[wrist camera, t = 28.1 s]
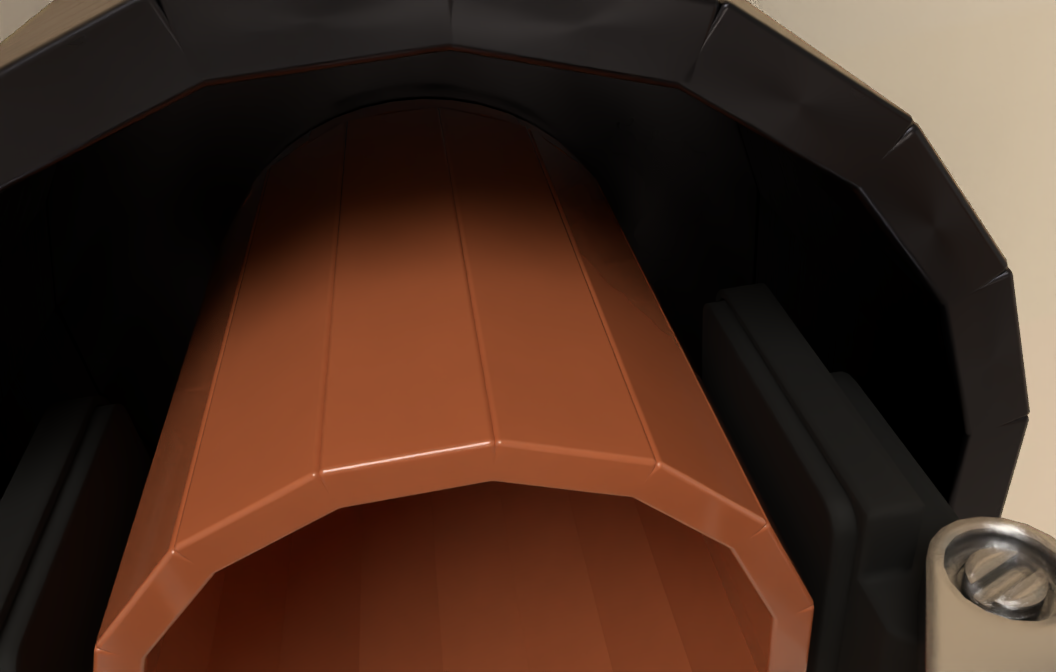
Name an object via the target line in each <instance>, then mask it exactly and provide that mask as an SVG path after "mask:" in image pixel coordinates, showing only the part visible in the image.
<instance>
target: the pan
mask: <svg viewBox="0 0 1056 672" xmlns="http://www.w3.org/2000/svg"><path fill="white" fill-rule="evenodd" d="M415 99H437V100H454V101H460V102H466V103H472V104H478V105H482V106H486V107H489V108H492V109H496V110H499V111H502V112H505V113H509V114H511V115H513V116H515V117H517V118H519V119H522V120H524V121H526V122H528V123H530V124H533V125H535V126H536V127H538V128H539V129H541V130H542V131H544V132H546V133H547V134H549V135H550V136H552V137H553V138H555V139H557V140H558V141H559V142H560V143H561V144H563V145H564V146H565V147H566V148H567V149H568V150H570V151H571V152H572V153H573V154H574V155H575V156H577V157H578V159H579V160H580V161H581V162H582V163H583V164H584V165H585V166H586V168H587V169H588V170H589V171H590V172H591V173H592V174H593V175H594V177H595V178H596V179H597V180H598V182H599V184H600V185H601V187H602V189H603V191H604V192H605V194H606V195H607V197H608V199H609V201H610V203H611V205H612V207H613V209H614V211H615V213H616V215H617V216H618V218H619V220H620V222H621V224H622V226H623V227H624V229H625V231H626V233H627V235H628V236H629V238H630V240H631V242H632V244H633V246H634V248H635V250H636V252H637V254H638V256H639V258H640V260H641V262H642V264H643V266H644V268H645V270H646V272H647V274H648V276H649V278H650V279H651V281H652V283H653V285H654V287H655V289H656V291H657V293H658V295H659V297H660V299H661V301H662V303H663V305H664V307H665V309H666V311H667V313H668V315H669V317H670V319H671V321H672V323H673V325H674V327H675V329H676V331H677V333H678V334H679V336H680V338H681V340H682V342H683V344H684V346H685V348H686V350H687V352H688V354H689V356H690V358H691V360H692V362H693V364H694V366H695V368H696V370H697V372H698V374H699V376H700V378H701V380H702V330H703V308H704V305H705V304H706V303H711V302H716V296H717V292H718V291H719V290H721V289H727V288H733V287H739V286H744V285H750V284H756V283H764V284H765V285H766V286H767V287H768V288H769V289H770V291H771V292H772V294H773V295H774V296H775V298H776V299H777V301H778V302H779V303H780V305H781V306H782V307H783V309H784V310H785V312H786V313H787V314H788V316H789V317H790V319H791V320H792V321H793V323H794V324H795V326H796V327H797V328H798V330H799V331H800V332H801V334H802V335H803V337H804V338H805V339H806V341H807V342H808V344H809V345H810V346H811V348H812V349H813V350H814V352H815V353H816V355H817V356H818V357H819V359H820V360H821V362H822V363H823V364H824V366H825V367H826V369H827V370H828V371H829V373H834V372H840V371H843V372H845V373H848V374H849V375H850V376H851V377H852V378H853V379H854V380H855V381H856V382H857V383H858V385H859V386H860V387H861V389H862V390H863V391H864V393H865V394H866V395H867V396H868V398H869V399H870V400H871V402H872V403H873V404H874V406H875V407H876V408H877V410H878V411H879V412H880V414H881V415H882V416H883V418H884V419H885V420H886V422H887V423H888V424H889V426H890V427H891V428H892V430H893V431H894V432H895V434H896V435H897V436H898V438H899V439H900V440H901V442H902V443H903V444H904V446H905V447H906V448H907V450H908V451H909V452H910V454H911V455H912V456H913V458H914V459H915V460H916V462H917V463H918V464H919V466H920V467H921V468H922V470H923V471H924V472H925V474H926V475H927V476H928V478H929V479H930V480H931V481H932V483H933V484H934V485H935V487H936V488H937V489H938V491H939V492H940V493H941V495H942V496H943V497H944V499H945V500H946V501H947V503H948V504H949V505H950V507H951V508H952V509H953V511H954V512H955V513H956V515H957V516H958V517H959V519H960V520H961V519H967V518H972V517H978V516H980V517H996V518H1001V514H1002V511H1003V507H1004V504H1005V501H1006V497H1007V494H1008V490H1009V487H1010V483H1011V480H1012V476H1013V473H1014V469H1015V466H1016V463H1017V459H1018V456H1019V452H1020V449H1021V445H1022V442H1023V438H1024V435H1025V431H1026V428H1027V424H1028V421H1029V419H1028V416H1027V415H1028V414H1029V412H1030V410H1029V402H1028V394H1027V386H1026V378H1025V370H1024V362H1023V354H1022V346H1021V338H1020V330H1019V322H1018V314H1017V306H1016V298H1015V290H1014V282H1013V275H1012V271H1011V270H1010V269H1009V268H1008V266H1007V261H1006V258H1005V257H1004V255H1003V254H1002V252H1001V251H1000V249H999V248H998V246H997V245H996V243H995V242H994V240H993V239H992V237H991V235H990V234H989V232H988V231H987V229H986V228H985V226H984V225H983V223H982V222H981V220H980V219H979V217H978V216H977V214H976V212H975V211H974V209H973V208H972V206H971V205H970V203H969V202H968V200H967V199H966V197H965V196H964V194H963V193H962V191H961V189H960V188H959V186H958V185H957V183H956V182H955V180H954V179H953V177H952V176H951V174H950V173H949V171H948V170H947V168H946V166H945V165H944V163H943V162H942V160H941V159H940V157H939V156H938V154H937V153H936V151H935V150H934V148H933V147H932V145H931V143H930V142H929V140H928V139H927V137H926V136H925V134H924V133H923V131H922V130H921V128H920V127H919V125H918V124H917V123H915V122H914V121H913V119H912V117H911V115H909V114H908V113H906V112H905V111H904V110H902V109H901V108H899V107H898V106H896V105H895V104H894V103H892V102H891V101H889V100H888V99H886V98H885V97H884V96H882V95H881V94H879V93H878V92H876V91H875V90H874V89H872V88H871V87H869V86H868V85H866V84H865V83H864V82H862V81H861V80H859V79H858V78H856V77H855V76H854V75H852V74H851V73H849V72H848V71H846V70H845V69H844V68H842V67H841V66H839V65H838V64H836V63H835V62H834V61H832V60H831V59H829V58H828V57H826V56H825V55H823V54H822V53H821V52H819V51H818V50H816V49H815V48H813V47H812V46H811V45H809V44H808V43H806V42H805V41H803V40H802V39H801V38H799V37H798V36H796V35H795V34H793V33H792V32H791V31H789V30H788V29H786V28H785V27H783V26H782V25H781V24H779V23H778V22H776V21H775V20H773V19H772V18H771V17H769V16H768V15H766V14H765V13H763V12H762V11H761V10H759V9H758V8H756V7H755V6H753V5H752V4H751V3H749V2H748V1H746V0H54V1H53V2H51V3H50V4H49V5H48V6H46V7H45V8H44V9H43V10H41V11H40V12H39V13H38V14H36V15H35V16H34V17H33V18H31V19H30V20H29V21H28V22H26V23H25V24H24V25H23V26H21V27H20V28H19V29H18V30H16V31H15V32H14V33H13V34H11V35H10V36H9V37H8V38H6V39H5V40H4V41H3V42H1V43H0V501H1V499H2V497H3V495H4V493H5V491H6V489H7V487H8V485H9V483H10V481H11V479H12V477H13V475H14V473H15V471H16V469H17V467H18V465H19V462H20V460H21V458H22V456H23V454H24V452H25V450H26V448H27V446H28V444H29V442H30V440H31V438H32V436H33V434H34V432H35V430H36V428H37V426H38V424H39V422H40V420H41V418H42V416H43V414H44V412H45V410H46V409H47V407H48V406H49V405H50V404H52V403H54V402H59V401H65V400H71V399H76V398H82V397H88V396H94V395H102V396H104V397H105V398H106V399H107V400H108V401H109V402H110V404H117V403H118V404H122V405H123V406H124V407H125V408H126V410H127V412H128V414H129V416H130V418H131V420H132V422H133V424H134V426H135V428H136V430H137V432H138V435H139V437H140V439H141V441H142V443H143V445H144V447H145V449H146V451H147V453H148V455H149V458H150V460H151V462H152V461H153V458H154V454H155V451H156V448H157V445H158V442H159V439H160V435H161V432H162V429H163V426H164V423H165V419H166V416H167V413H168V410H169V407H170V403H171V400H172V397H173V394H174V391H175V387H176V384H177V381H178V378H179V375H180V371H181V368H182V365H183V362H184V359H185V355H186V352H187V349H188V346H189V343H190V339H191V336H192V333H193V330H194V327H195V323H196V320H197V317H198V314H199V311H200V307H201V304H202V301H203V298H204V295H205V291H206V288H207V285H208V282H209V279H210V275H211V272H212V269H213V266H214V263H215V259H216V256H217V253H218V250H219V247H220V243H221V240H222V238H223V235H224V233H225V231H226V230H227V228H228V227H229V225H230V224H231V222H232V221H233V218H234V215H235V213H236V210H237V208H238V207H239V205H240V203H241V201H242V200H243V198H244V196H245V194H246V192H247V191H248V189H249V187H250V186H251V185H252V184H253V182H254V181H255V180H256V179H257V177H258V176H259V175H260V173H261V172H262V171H263V170H264V168H265V167H266V166H267V165H268V164H269V163H270V162H271V161H272V160H273V159H275V158H276V157H277V156H278V155H279V154H280V153H281V152H282V151H283V150H284V149H285V148H286V147H288V146H289V145H291V144H292V143H293V142H295V141H296V140H298V139H299V138H300V137H302V136H303V135H305V134H306V133H307V132H309V131H311V130H313V129H315V128H317V127H319V126H320V125H322V124H324V123H326V122H328V121H330V120H332V119H334V118H336V117H339V116H342V115H345V114H347V113H350V112H353V111H356V110H358V109H361V108H365V107H369V106H374V105H379V104H383V103H388V102H393V101H404V100H415Z"/></svg>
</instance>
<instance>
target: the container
mask: <svg viewBox="0 0 1056 672" xmlns="http://www.w3.org/2000/svg"><path fill="white" fill-rule="evenodd" d="M813 617H814V604H813V598H812V596H811V594H810V592H809V590H808V588H807V586H806V584H805V582H804V580H803V578H802V576H801V574H800V572H799V570H798V568H797V566H796V564H795V562H794V560H793V558H792V556H791V555H790V553H789V551H788V549H787V547H786V545H785V543H784V541H783V539H782V537H781V535H780V533H779V531H778V529H777V527H776V525H775V523H774V521H773V519H772V517H771V515H770V513H769V511H768V509H767V507H766V505H765V503H764V501H763V500H762V498H761V496H760V494H759V492H758V490H757V488H756V486H755V484H754V482H753V480H752V478H751V476H750V474H749V472H748V470H747V468H746V466H745V464H744V462H743V460H742V458H741V456H740V454H739V452H738V450H737V448H736V446H735V444H734V443H733V441H732V439H731V437H730V435H729V433H728V431H727V429H726V427H725V425H724V423H723V421H722V419H721V417H720V415H719V413H718V411H717V409H716V407H715V405H714V403H713V401H712V399H711V397H710V395H709V393H708V391H707V389H706V388H705V386H704V384H703V382H702V380H701V378H700V376H699V374H698V372H697V370H696V368H695V366H694V364H693V362H692V360H691V358H690V356H689V354H688V352H687V350H686V348H685V346H684V344H683V342H682V340H681V338H680V336H679V334H678V333H677V331H676V329H675V327H674V325H673V323H672V321H671V319H670V317H669V315H668V313H667V311H666V309H665V307H664V305H663V303H662V301H661V299H660V297H659V295H658V293H657V291H656V289H655V287H654V285H653V283H652V281H651V279H650V278H649V276H648V274H647V272H646V270H645V268H644V266H643V264H642V262H641V260H640V258H639V256H638V254H637V252H636V250H635V248H634V246H633V244H632V242H631V240H630V238H629V236H628V235H627V233H626V231H625V229H624V227H623V226H622V224H621V222H620V220H619V218H618V216H617V215H616V213H615V211H614V209H613V207H612V205H611V203H610V201H609V199H608V197H607V195H606V194H605V192H604V191H603V189H602V187H601V185H600V184H599V182H598V180H597V179H596V178H595V177H594V175H593V174H592V173H591V172H590V171H589V170H588V169H587V168H586V166H585V165H584V164H583V163H582V162H581V161H580V160H579V159H578V157H577V156H575V155H574V154H573V153H572V152H571V151H570V150H568V149H567V148H566V147H565V146H564V145H563V144H561V143H560V142H559V141H558V140H557V139H555V138H553V137H552V136H550V135H549V134H547V133H546V132H544V131H542V130H541V129H539V128H538V127H536V126H535V125H533V124H530V123H528V122H526V121H524V120H522V119H519V118H517V117H515V116H513V115H511V114H509V113H505V112H502V111H499V110H496V109H492V108H489V107H486V106H482V105H478V104H472V103H466V102H460V101H454V100H437V99H415V100H404V101H393V102H388V103H383V104H379V105H374V106H369V107H365V108H361V109H358V110H356V111H353V112H350V113H347V114H345V115H342V116H339V117H336V118H334V119H332V120H330V121H328V122H326V123H324V124H322V125H320V126H319V127H317V128H315V129H313V130H311V131H309V132H307V133H306V134H305V135H303V136H302V137H300V138H299V139H298V140H296V141H295V142H293V143H292V144H291V145H289V146H288V147H286V148H285V149H284V150H283V151H282V152H281V153H280V154H279V155H278V156H277V157H276V158H275V159H273V160H272V161H271V162H270V163H269V164H268V165H267V166H266V167H265V168H264V170H263V171H262V172H261V173H260V175H259V176H258V177H257V179H256V180H255V181H254V182H253V184H252V185H251V186H250V187H249V189H248V191H247V192H246V194H245V196H244V198H243V200H242V201H241V203H240V205H239V207H238V208H237V210H236V213H235V215H234V218H233V221H232V222H231V224H230V225H229V227H228V228H227V230H226V231H225V233H224V235H223V238H222V240H221V243H220V247H219V250H218V253H217V256H216V259H215V263H214V266H213V269H212V272H211V275H210V279H209V282H208V285H207V288H206V291H205V295H204V298H203V301H202V304H201V307H200V311H199V314H198V317H197V320H196V323H195V327H194V330H193V333H192V336H191V339H190V343H189V346H188V349H187V352H186V355H185V359H184V362H183V365H182V368H181V371H180V375H179V378H178V381H177V384H176V387H175V391H174V394H173V397H172V400H171V403H170V407H169V410H168V413H167V416H166V419H165V423H164V426H163V429H162V432H161V435H160V439H159V442H158V445H157V448H156V451H155V454H154V458H153V461H152V464H151V467H150V470H149V474H148V477H147V480H146V483H145V486H144V490H143V493H142V496H141V499H140V502H139V506H138V509H137V512H136V515H135V518H134V522H133V525H132V528H131V531H130V534H129V538H128V541H127V544H126V547H125V550H124V554H123V557H122V560H121V563H120V566H119V570H118V573H117V576H116V579H115V582H114V586H113V589H112V592H111V595H110V598H109V602H108V605H107V608H106V611H105V614H104V618H103V621H102V624H101V627H100V630H99V634H98V637H97V640H96V643H95V646H94V653H93V672H807V665H808V657H809V649H810V641H811V633H812V625H813Z"/></svg>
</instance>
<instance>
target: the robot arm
mask: <svg viewBox="0 0 1056 672" xmlns="http://www.w3.org/2000/svg"><path fill="white" fill-rule="evenodd" d="M702 382H703V384H704V386H705V388H706V389H707V391H708V393H709V395H710V397H711V399H712V401H713V403H714V405H715V407H716V409H717V411H718V413H719V415H720V417H721V419H722V421H723V423H724V425H725V427H726V429H727V431H728V433H729V435H730V437H731V439H732V441H733V443H734V444H735V446H736V448H737V450H738V452H739V454H740V456H741V458H742V460H743V462H744V464H745V466H746V468H747V470H748V472H749V474H750V476H751V478H752V480H753V482H754V484H755V486H756V488H757V490H758V492H759V494H760V496H761V498H762V500H763V501H764V503H765V505H766V507H767V509H768V511H769V513H770V515H771V517H772V519H773V521H774V523H775V525H776V527H777V529H778V531H779V533H780V535H781V537H782V539H783V541H784V543H785V545H786V547H787V549H788V551H789V553H790V555H791V556H792V558H793V560H794V562H795V564H796V566H797V568H798V570H799V572H800V574H801V576H802V578H803V580H804V582H805V584H806V586H807V588H808V590H809V592H810V594H811V596H812V598H813V604H814V617H813V625H812V633H811V641H810V649H809V657H808V665H807V672H1056V539H1055V538H1053V537H1052V536H1050V535H1048V534H1046V533H1044V532H1042V531H1040V530H1038V529H1036V528H1034V527H1032V526H1029V525H1027V524H1024V523H1020V522H1016V521H1012V520H1008V519H1005V518H996V517H980V516H978V517H972V518H967V519H961V520H960V519H959V517H958V516H957V515H956V513H955V512H954V511H953V509H952V508H951V507H950V505H949V504H948V503H947V501H946V500H945V499H944V497H943V496H942V495H941V493H940V492H939V491H938V489H937V488H936V487H935V485H934V484H933V483H932V481H931V480H930V479H929V478H928V476H927V475H926V474H925V472H924V471H923V470H922V468H921V467H920V466H919V464H918V463H917V462H916V460H915V459H914V458H913V456H912V455H911V454H910V452H909V451H908V450H907V448H906V447H905V446H904V444H903V443H902V442H901V440H900V439H899V438H898V436H897V435H896V434H895V432H894V431H893V430H892V428H891V427H890V426H889V424H888V423H887V422H886V420H885V419H884V418H883V416H882V415H881V414H880V412H879V411H878V410H877V408H876V407H875V406H874V404H873V403H872V402H871V400H870V399H869V398H868V396H867V395H866V394H865V393H864V391H863V390H862V389H861V387H860V386H859V385H858V383H857V382H856V381H855V380H854V379H853V378H852V377H851V376H850V375H849V374H848V373H845V372H843V371H840V372H834V373H829V371H828V370H827V369H826V367H825V366H824V364H823V363H822V362H821V360H820V359H819V357H818V356H817V355H816V353H815V352H814V350H813V349H812V348H811V346H810V345H809V344H808V342H807V341H806V339H805V338H804V337H803V335H802V334H801V332H800V331H799V330H798V328H797V327H796V326H795V324H794V323H793V321H792V320H791V319H790V317H789V316H788V314H787V313H786V312H785V310H784V309H783V307H782V306H781V305H780V303H779V302H778V301H777V299H776V298H775V296H774V295H773V294H772V292H771V291H770V289H769V288H768V287H767V286H766V285H765V284H764V283H756V284H750V285H744V286H739V287H733V288H727V289H721V290H719V291H718V292H717V296H716V302H711V303H706V304H705V305H704V308H703V330H702ZM151 464H152V462H151V460H150V458H149V455H148V453H147V451H146V449H145V447H144V445H143V443H142V441H141V439H140V437H139V435H138V432H137V430H136V428H135V426H134V424H133V422H132V420H131V418H130V416H129V414H128V412H127V410H126V408H125V407H124V406H123V405H122V404H118V403H117V404H110V402H109V401H108V400H107V399H106V398H105V397H104V396H102V395H94V396H88V397H82V398H76V399H71V400H65V401H59V402H54V403H52V404H50V405H49V406H48V407H47V409H46V410H45V412H44V414H43V416H42V418H41V420H40V422H39V424H38V426H37V428H36V430H35V432H34V434H33V436H32V438H31V440H30V442H29V444H28V446H27V448H26V450H25V452H24V454H23V456H22V458H21V460H20V462H19V465H18V467H17V469H16V471H15V473H14V475H13V477H12V479H11V481H10V483H9V485H8V487H7V489H6V491H5V493H4V495H3V497H2V499H1V501H0V672H93V653H94V646H95V643H96V640H97V637H98V634H99V630H100V627H101V624H102V621H103V618H104V614H105V611H106V608H107V605H108V602H109V598H110V595H111V592H112V589H113V586H114V582H115V579H116V576H117V573H118V570H119V566H120V563H121V560H122V557H123V554H124V550H125V547H126V544H127V541H128V538H129V534H130V531H131V528H132V525H133V522H134V518H135V515H136V512H137V509H138V506H139V502H140V499H141V496H142V493H143V490H144V486H145V483H146V480H147V477H148V474H149V470H150V467H151Z"/></svg>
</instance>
